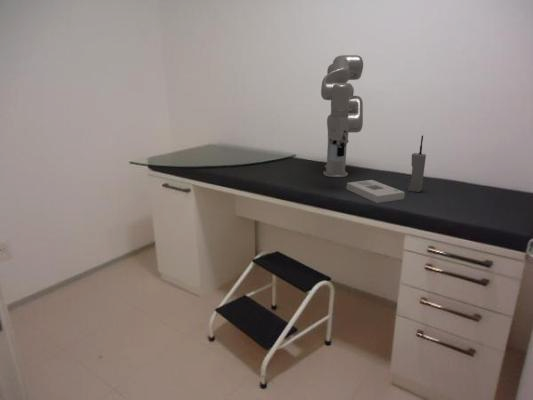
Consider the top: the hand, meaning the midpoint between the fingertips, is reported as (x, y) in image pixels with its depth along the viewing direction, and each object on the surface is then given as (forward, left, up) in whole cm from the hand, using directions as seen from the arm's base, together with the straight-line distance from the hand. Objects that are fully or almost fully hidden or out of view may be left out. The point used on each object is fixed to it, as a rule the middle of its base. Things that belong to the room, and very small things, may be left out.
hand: (337, 154), depth 179 cm
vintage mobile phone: (+17, +31, -16) cm, 39 cm away
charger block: (0, 0, -2) cm, 2 cm away
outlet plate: (+14, +11, -16) cm, 24 cm away
